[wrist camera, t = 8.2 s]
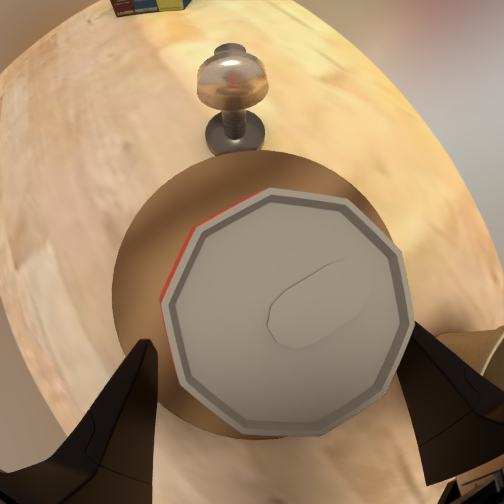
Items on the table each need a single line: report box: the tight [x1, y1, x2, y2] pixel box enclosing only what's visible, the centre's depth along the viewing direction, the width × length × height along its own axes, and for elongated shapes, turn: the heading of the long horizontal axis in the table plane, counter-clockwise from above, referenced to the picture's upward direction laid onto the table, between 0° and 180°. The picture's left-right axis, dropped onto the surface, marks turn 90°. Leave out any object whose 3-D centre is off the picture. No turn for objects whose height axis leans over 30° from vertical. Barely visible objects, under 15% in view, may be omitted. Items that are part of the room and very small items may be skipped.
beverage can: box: [159, 188, 415, 436], centre depth 11 cm, size 6×6×12 cm
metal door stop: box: [197, 43, 269, 156], centre depth 15 cm, size 4×4×9 cm
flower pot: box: [436, 326, 504, 391], centre depth 13 cm, size 9×9×9 cm
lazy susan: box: [112, 150, 393, 440], centre depth 17 cm, size 20×20×1 cm
